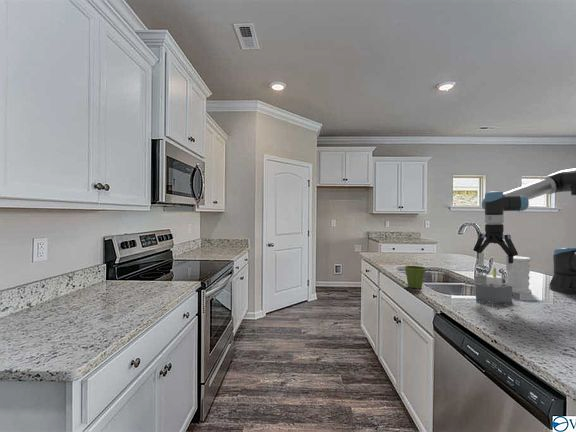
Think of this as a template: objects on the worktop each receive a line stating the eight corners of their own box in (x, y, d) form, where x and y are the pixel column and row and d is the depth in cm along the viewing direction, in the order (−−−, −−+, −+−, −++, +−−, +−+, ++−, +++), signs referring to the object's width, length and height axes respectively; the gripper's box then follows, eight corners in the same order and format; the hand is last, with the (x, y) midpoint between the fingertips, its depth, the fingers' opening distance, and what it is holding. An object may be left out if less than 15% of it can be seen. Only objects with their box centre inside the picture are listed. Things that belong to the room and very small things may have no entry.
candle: (484, 298, 154) (484, 267, 154) (488, 295, 158) (489, 265, 158) (499, 300, 149) (499, 268, 149) (503, 298, 154) (503, 267, 153)
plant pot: (420, 290, 172) (420, 270, 172) (400, 287, 181) (400, 267, 181) (430, 287, 180) (430, 267, 180) (410, 283, 189) (410, 264, 189)
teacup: (476, 292, 169) (476, 277, 169) (472, 287, 179) (472, 273, 179) (507, 294, 164) (507, 278, 164) (501, 289, 175) (501, 275, 175)
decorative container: (499, 289, 175) (499, 256, 174) (513, 287, 179) (513, 255, 179) (522, 294, 164) (522, 259, 164) (536, 292, 168) (536, 258, 168)
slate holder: (491, 296, 161) (491, 281, 161) (511, 301, 151) (512, 286, 151) (476, 298, 157) (476, 283, 156) (496, 304, 147) (496, 288, 147)
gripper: (465, 223, 164) (465, 264, 164) (516, 224, 141) (516, 273, 141) (475, 222, 166) (476, 263, 167) (526, 224, 143) (527, 271, 144)
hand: (494, 268), depth 154 cm, fingers open, 13 cm apart
